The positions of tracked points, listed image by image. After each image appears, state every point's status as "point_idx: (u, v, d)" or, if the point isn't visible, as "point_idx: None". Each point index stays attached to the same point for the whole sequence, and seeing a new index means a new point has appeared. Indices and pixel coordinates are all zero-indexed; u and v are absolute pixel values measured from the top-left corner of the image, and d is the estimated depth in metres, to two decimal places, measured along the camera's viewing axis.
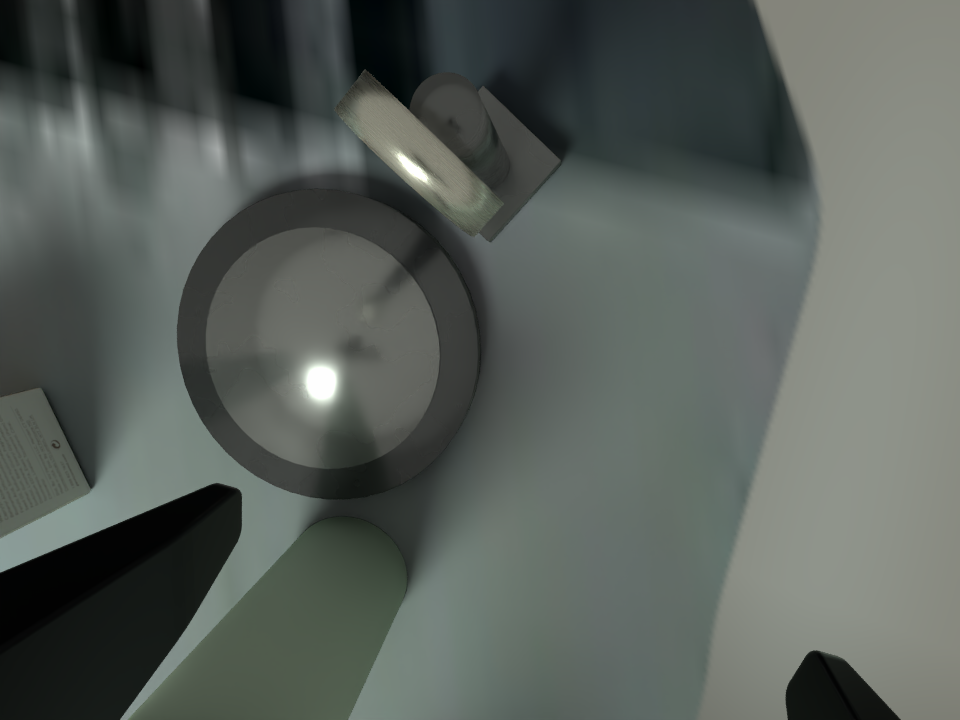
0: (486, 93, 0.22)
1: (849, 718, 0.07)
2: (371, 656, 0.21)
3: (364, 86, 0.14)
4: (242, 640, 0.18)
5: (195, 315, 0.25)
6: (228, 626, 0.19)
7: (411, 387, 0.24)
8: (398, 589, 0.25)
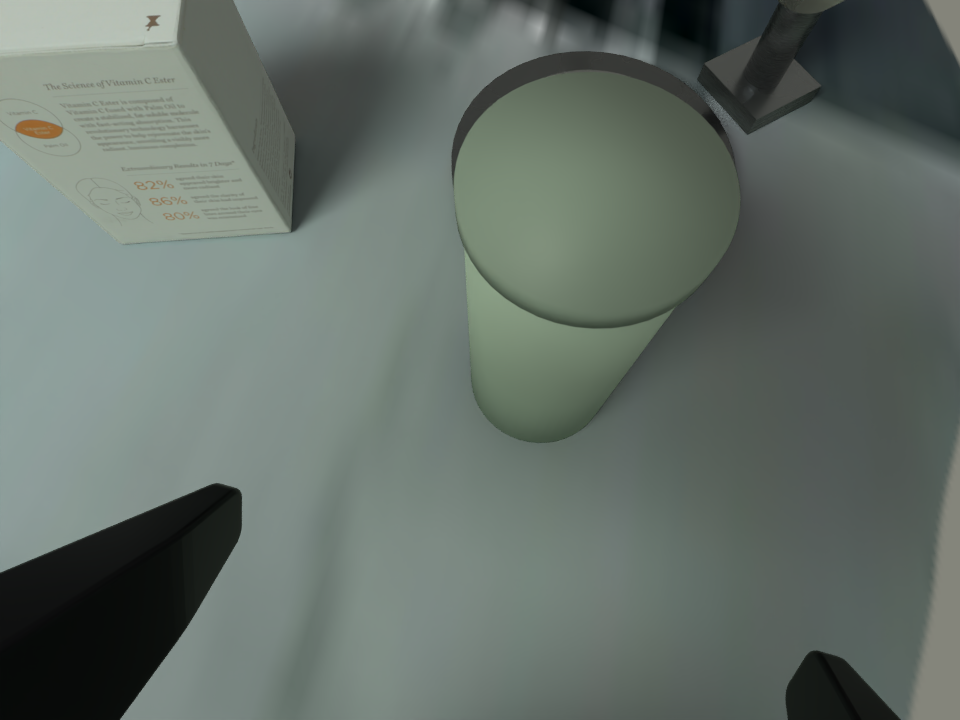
0: None
1: (849, 718, 0.07)
2: None
3: None
4: None
5: (485, 108, 0.28)
6: None
7: None
8: None
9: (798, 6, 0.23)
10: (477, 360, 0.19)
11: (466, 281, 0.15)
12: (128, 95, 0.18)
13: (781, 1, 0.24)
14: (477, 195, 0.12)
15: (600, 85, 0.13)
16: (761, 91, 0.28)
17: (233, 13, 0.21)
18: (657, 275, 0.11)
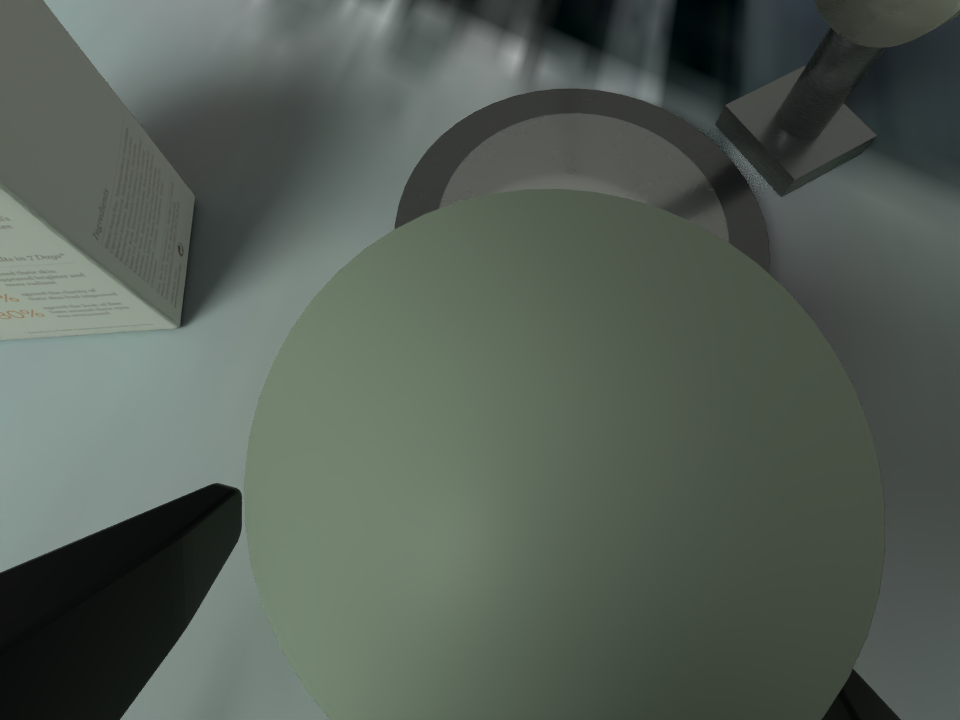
0: None
1: (849, 718, 0.07)
2: None
3: None
4: None
5: (442, 162, 0.21)
6: None
7: None
8: None
9: (862, 37, 0.17)
10: None
11: None
12: None
13: (837, 29, 0.17)
14: (295, 484, 0.05)
15: (575, 218, 0.06)
16: (800, 142, 0.22)
17: (60, 44, 0.15)
18: (704, 717, 0.05)
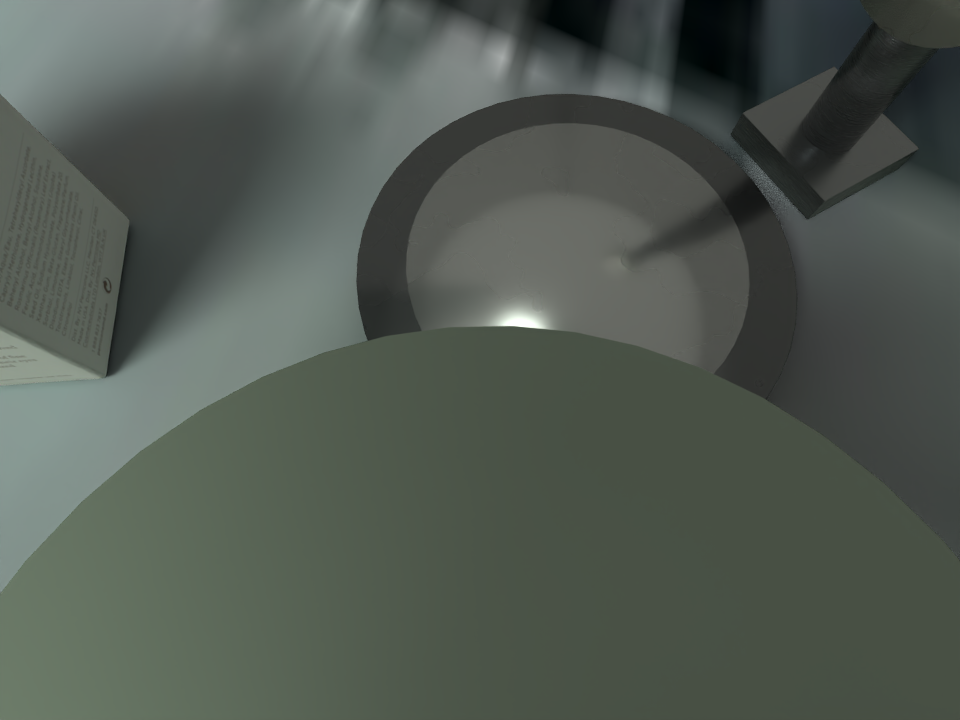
0: None
1: None
2: None
3: None
4: None
5: (414, 181, 0.18)
6: None
7: (699, 336, 0.16)
8: None
9: (916, 35, 0.14)
10: None
11: None
12: None
13: (884, 26, 0.14)
14: None
15: (537, 387, 0.03)
16: (830, 156, 0.19)
17: None
18: None
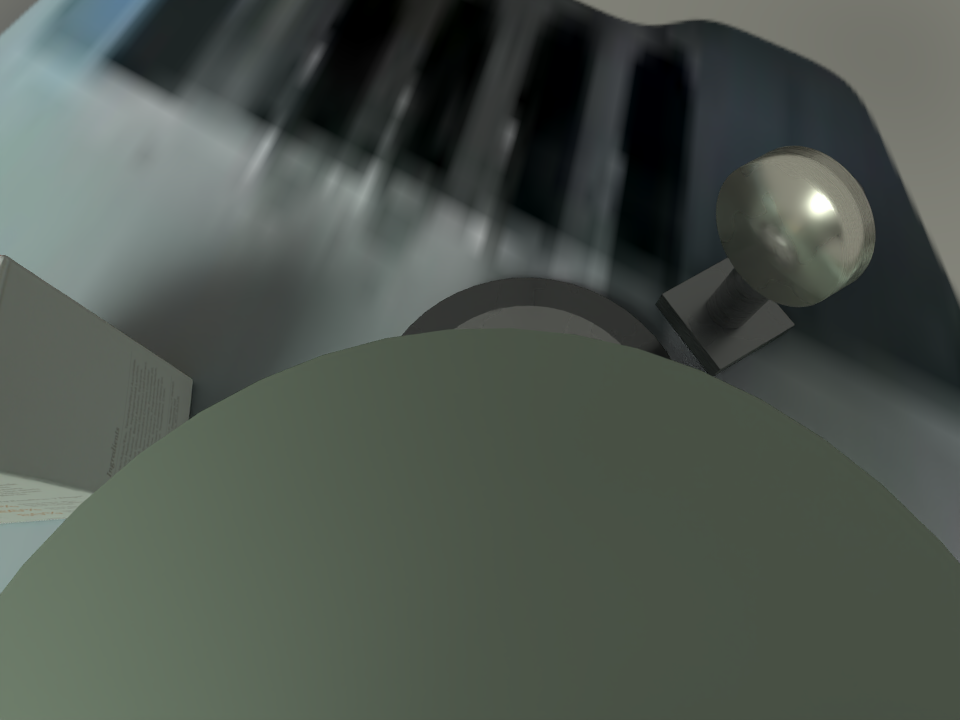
0: None
1: None
2: None
3: (789, 150, 0.17)
4: None
5: None
6: None
7: None
8: None
9: (761, 289, 0.20)
10: None
11: None
12: None
13: (742, 276, 0.20)
14: None
15: (536, 390, 0.03)
16: (726, 332, 0.24)
17: (80, 324, 0.18)
18: None
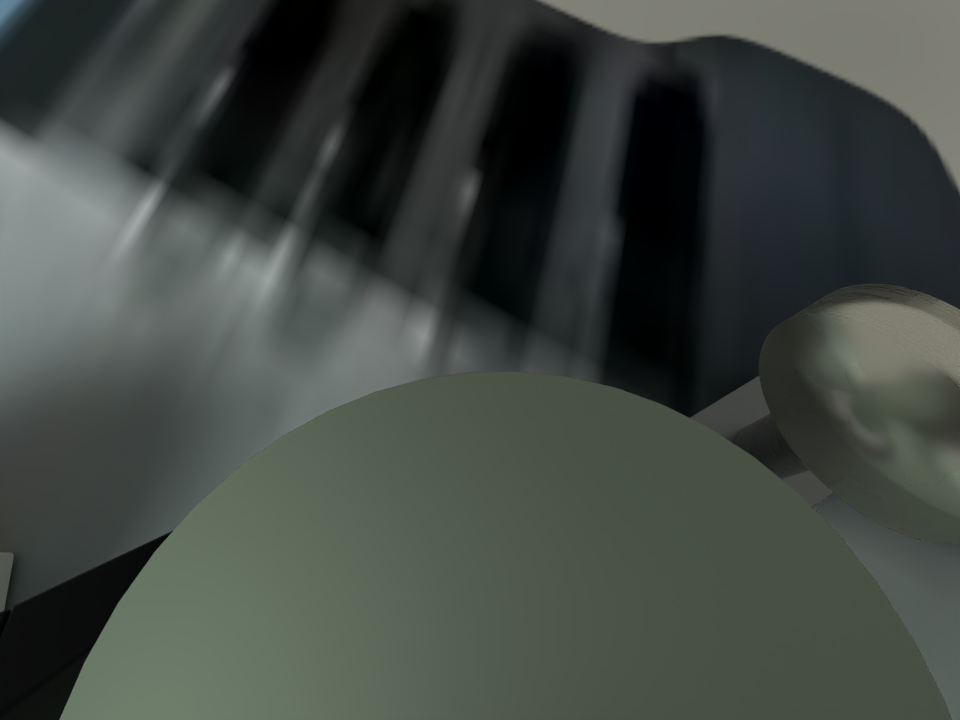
0: None
1: None
2: None
3: (897, 297, 0.10)
4: None
5: None
6: None
7: None
8: None
9: (831, 483, 0.13)
10: None
11: None
12: None
13: (798, 455, 0.13)
14: None
15: (538, 419, 0.04)
16: None
17: None
18: None
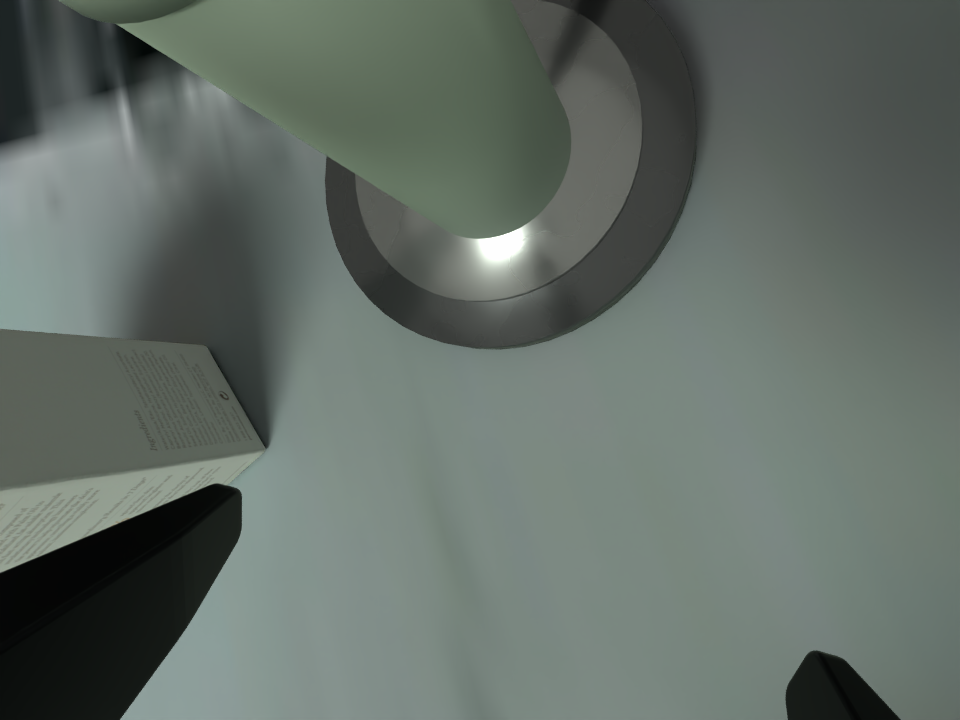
0: None
1: (849, 718, 0.07)
2: (519, 24, 0.13)
3: None
4: None
5: (342, 181, 0.21)
6: None
7: (611, 137, 0.18)
8: (552, 86, 0.17)
9: None
10: (355, 173, 0.14)
11: None
12: None
13: None
14: None
15: None
16: None
17: (25, 345, 0.18)
18: None
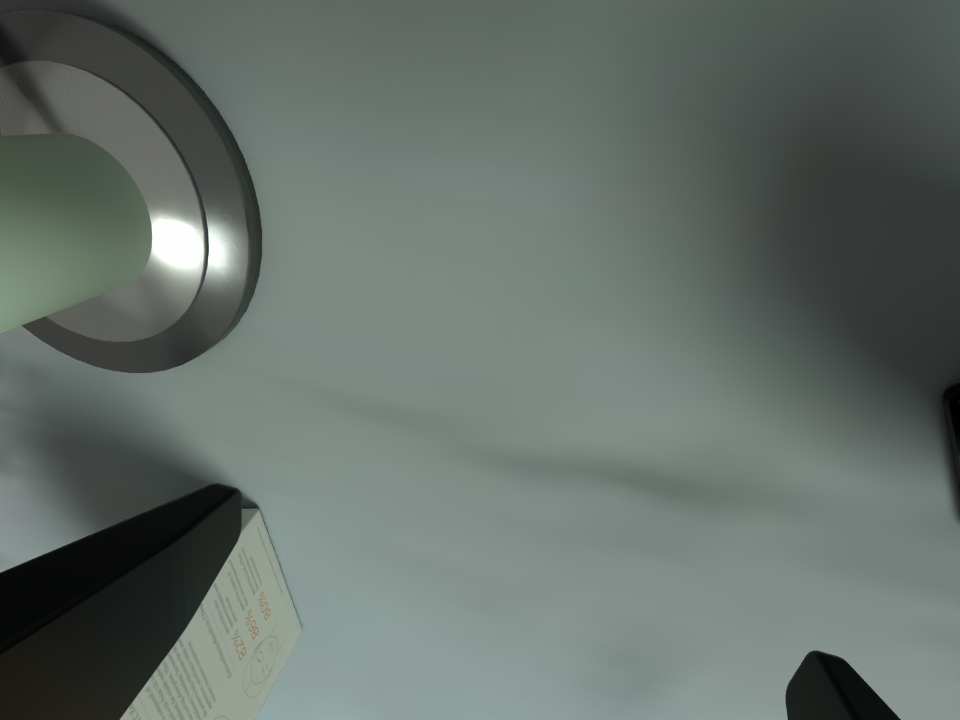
0: None
1: (849, 718, 0.07)
2: None
3: None
4: None
5: (63, 337, 0.24)
6: None
7: (105, 112, 0.19)
8: (29, 135, 0.19)
9: None
10: None
11: None
12: (155, 719, 0.20)
13: None
14: None
15: None
16: None
17: None
18: None
